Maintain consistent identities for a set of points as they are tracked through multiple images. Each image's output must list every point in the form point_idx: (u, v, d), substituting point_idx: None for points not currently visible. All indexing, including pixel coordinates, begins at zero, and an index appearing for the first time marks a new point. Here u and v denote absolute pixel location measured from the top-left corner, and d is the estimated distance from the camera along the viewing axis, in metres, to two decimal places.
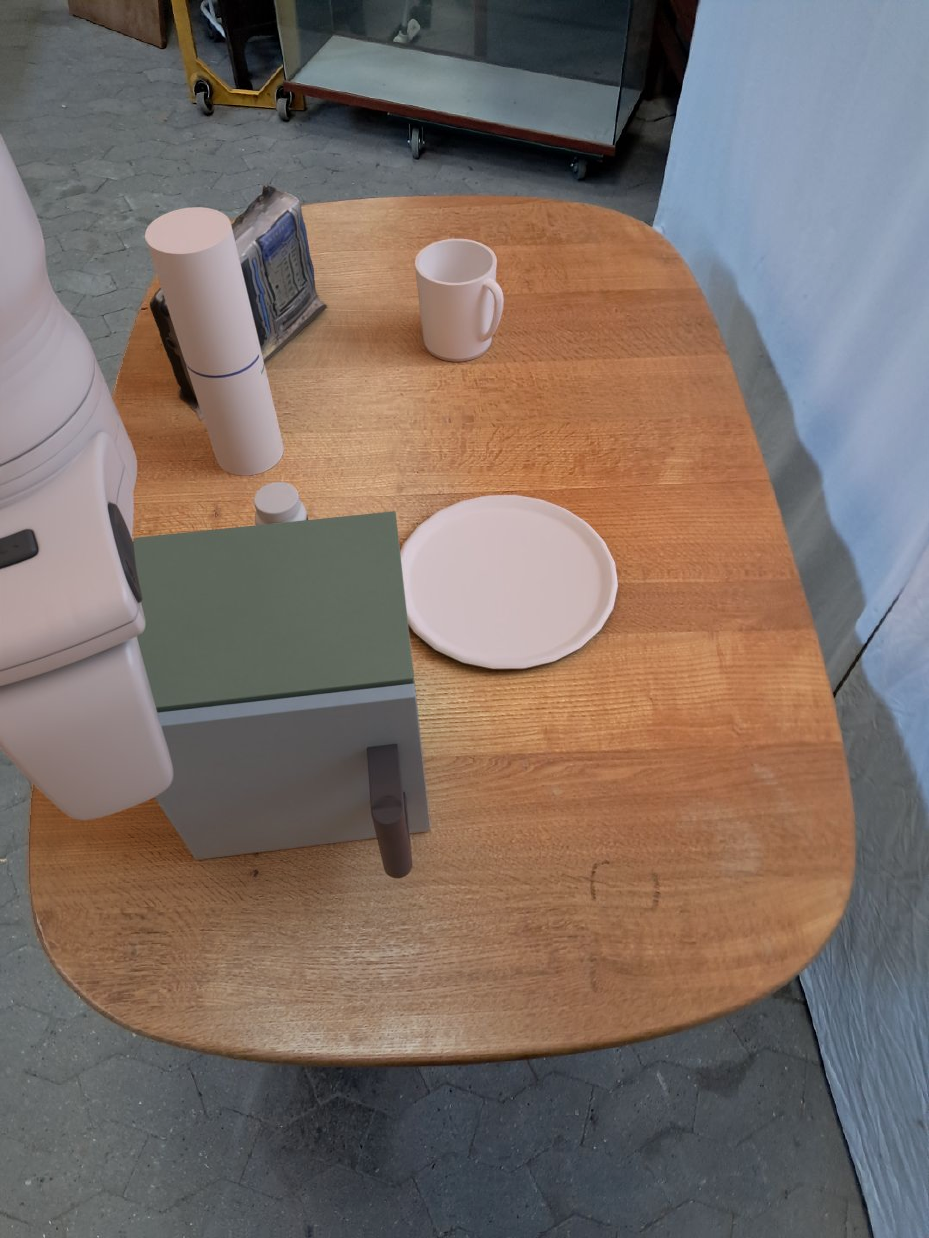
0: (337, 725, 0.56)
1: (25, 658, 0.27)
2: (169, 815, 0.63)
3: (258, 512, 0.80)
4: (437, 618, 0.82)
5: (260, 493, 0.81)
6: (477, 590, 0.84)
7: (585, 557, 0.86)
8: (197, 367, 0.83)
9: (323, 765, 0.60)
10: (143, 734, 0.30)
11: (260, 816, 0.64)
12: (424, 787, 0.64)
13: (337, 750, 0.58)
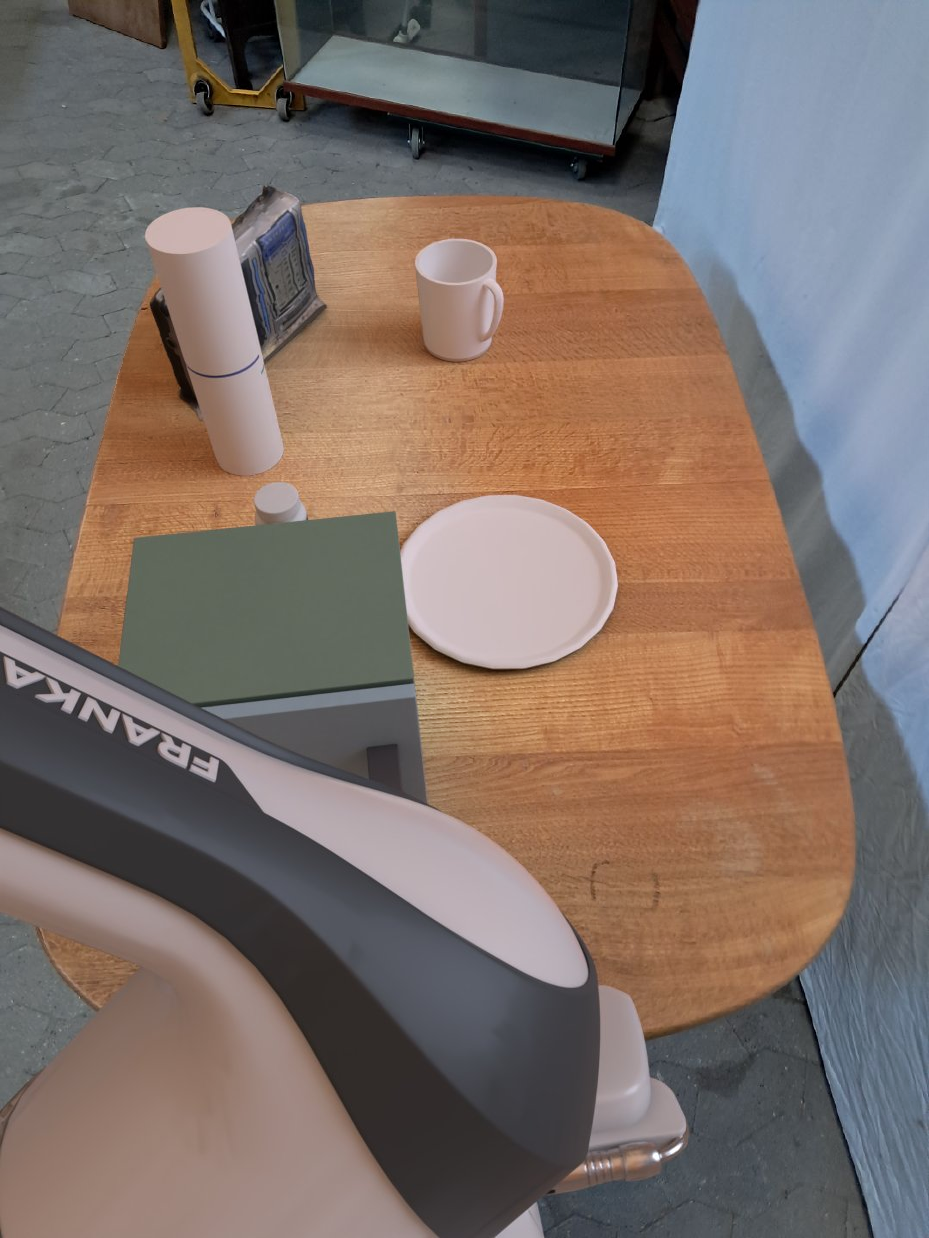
0: (337, 725, 0.56)
1: None
2: None
3: (258, 512, 0.80)
4: (437, 618, 0.82)
5: (260, 493, 0.81)
6: (477, 590, 0.84)
7: (585, 557, 0.86)
8: (197, 367, 0.83)
9: None
10: None
11: None
12: (424, 787, 0.64)
13: (337, 750, 0.58)
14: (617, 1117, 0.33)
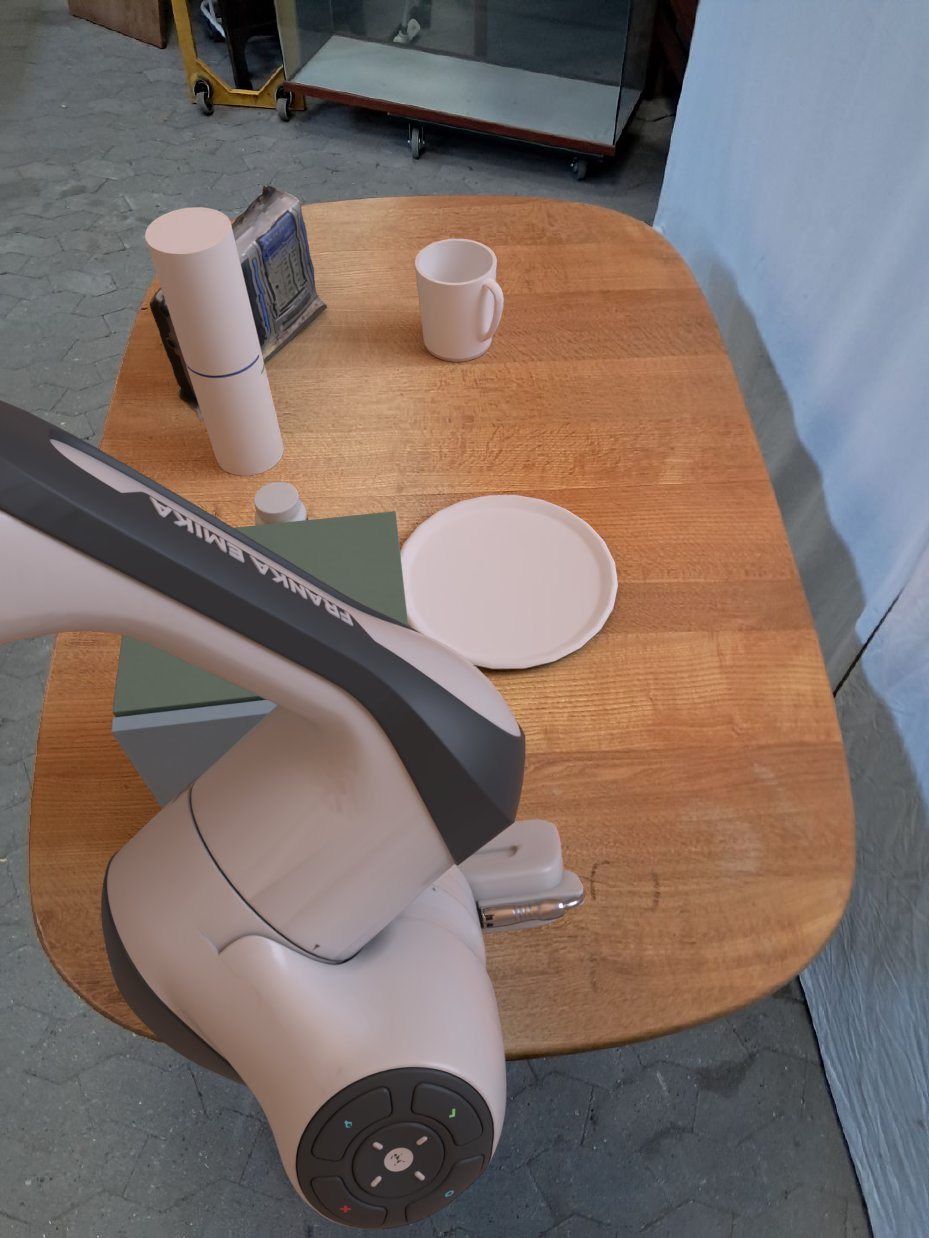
0: None
1: None
2: None
3: (258, 512, 0.80)
4: (437, 618, 0.82)
5: (260, 493, 0.81)
6: (477, 590, 0.84)
7: (585, 557, 0.86)
8: (197, 367, 0.83)
9: None
10: None
11: None
12: None
13: None
14: (537, 884, 0.49)
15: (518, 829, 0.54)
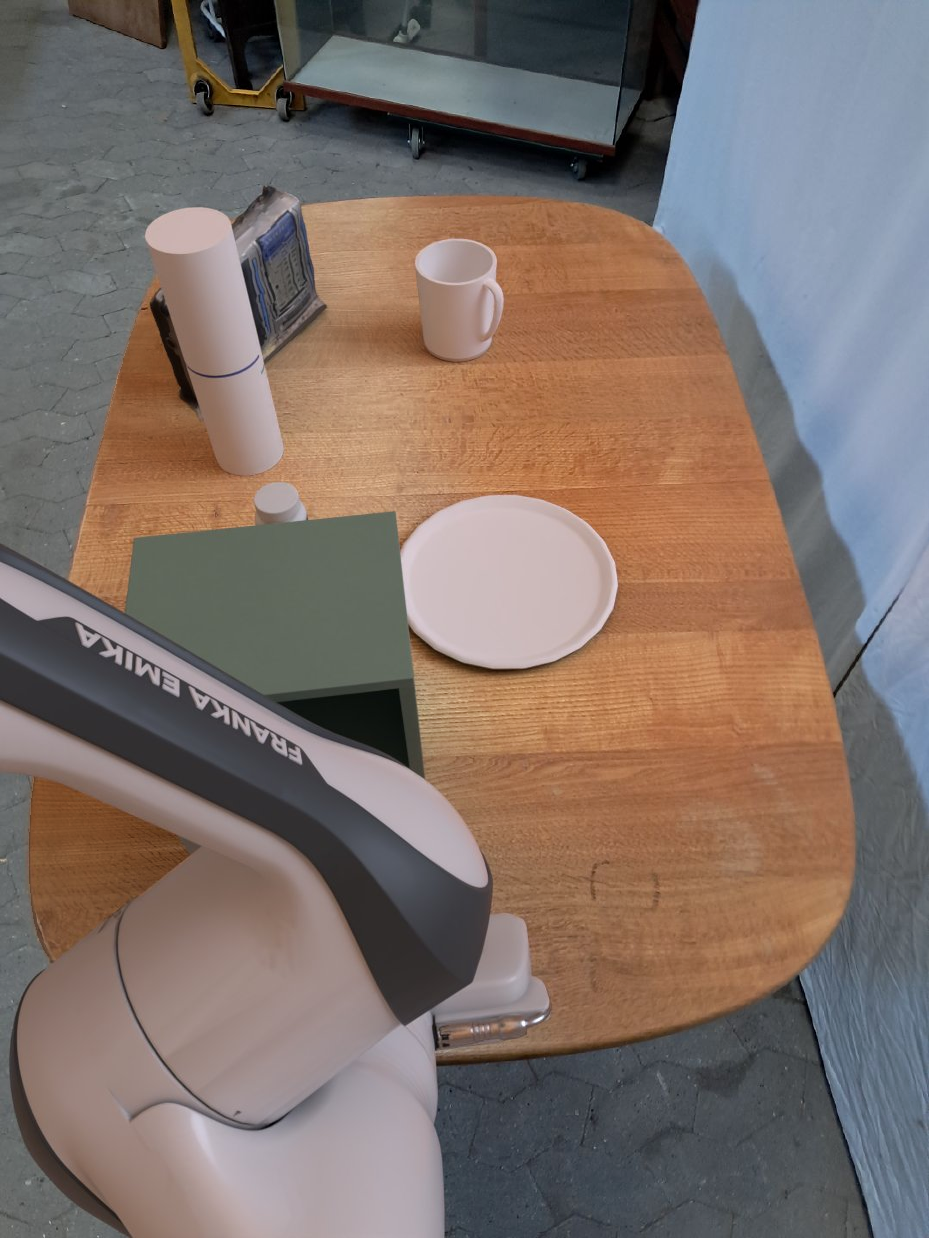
0: None
1: None
2: None
3: (258, 512, 0.80)
4: (437, 618, 0.82)
5: (260, 493, 0.81)
6: (477, 590, 0.84)
7: (585, 557, 0.86)
8: (197, 367, 0.83)
9: None
10: None
11: None
12: None
13: None
14: (499, 997, 0.45)
15: None
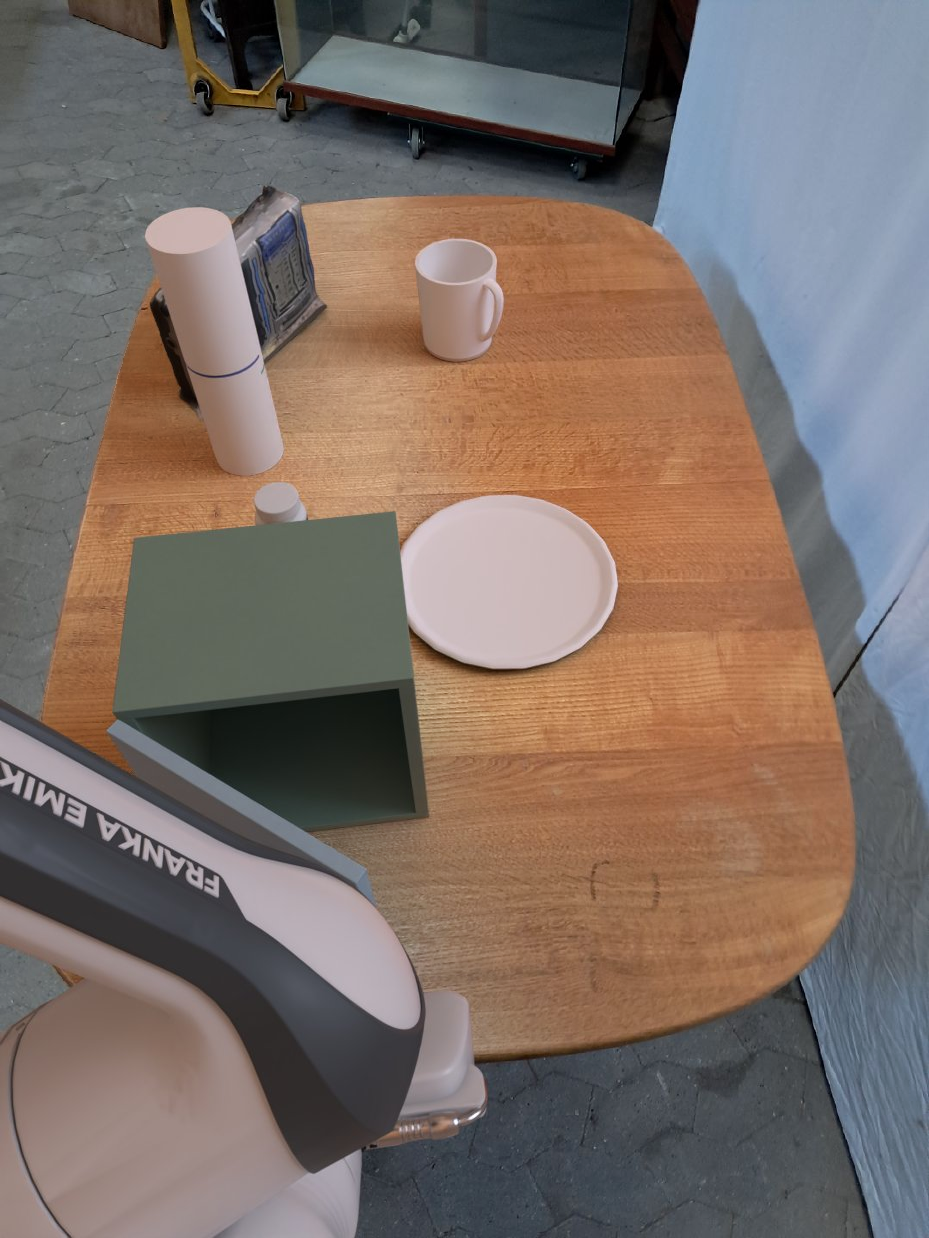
0: None
1: None
2: None
3: (258, 512, 0.80)
4: (437, 618, 0.82)
5: (260, 493, 0.81)
6: (477, 590, 0.84)
7: (585, 557, 0.86)
8: (197, 367, 0.83)
9: None
10: None
11: None
12: None
13: None
14: (432, 1092, 0.43)
15: None
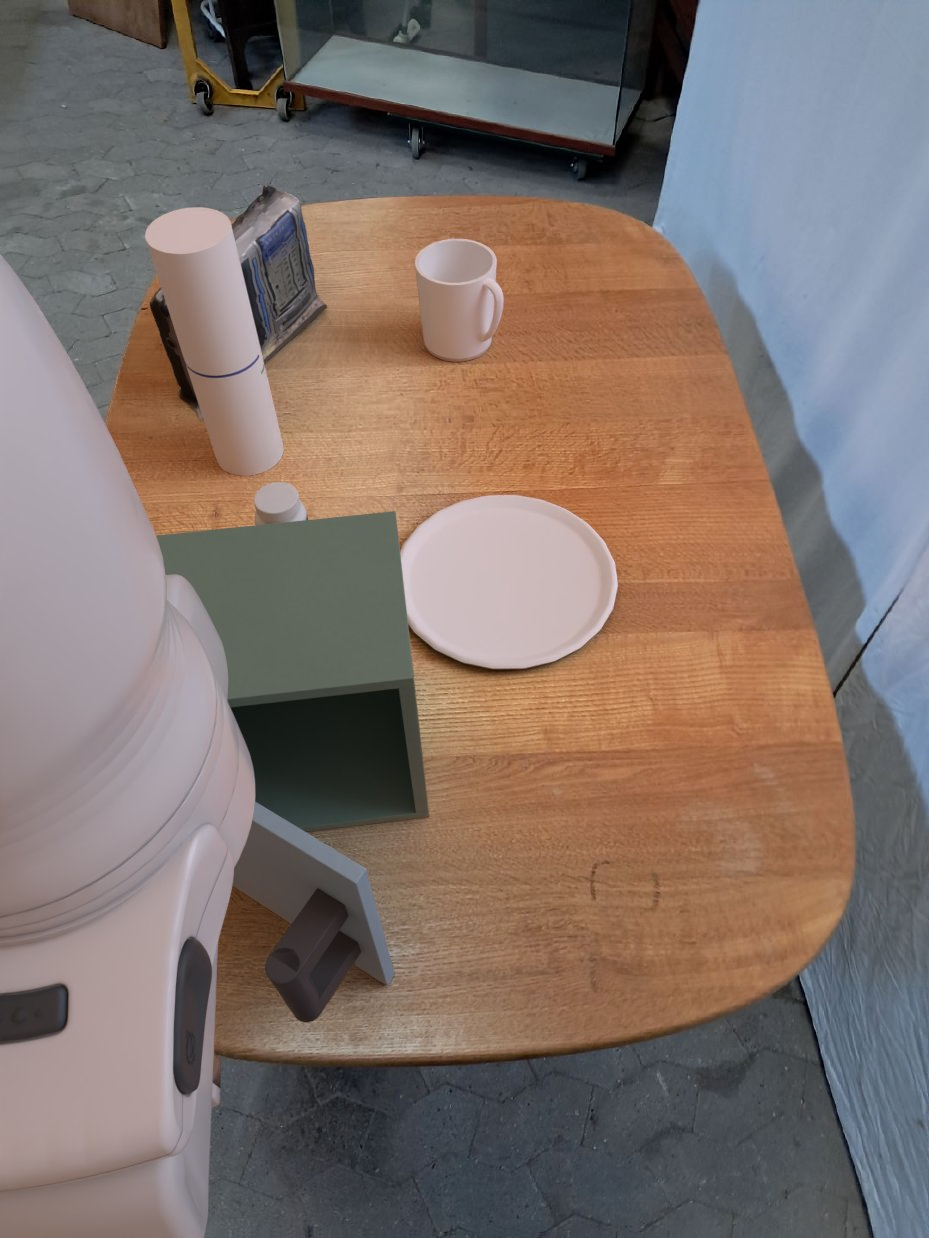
0: (287, 854, 0.51)
1: (10, 1186, 0.19)
2: None
3: (258, 512, 0.80)
4: (437, 618, 0.82)
5: (260, 493, 0.81)
6: (477, 590, 0.84)
7: (585, 557, 0.86)
8: (197, 367, 0.83)
9: (281, 873, 0.55)
10: None
11: (235, 868, 0.62)
12: (375, 952, 0.57)
13: (291, 871, 0.53)
14: None
15: None
